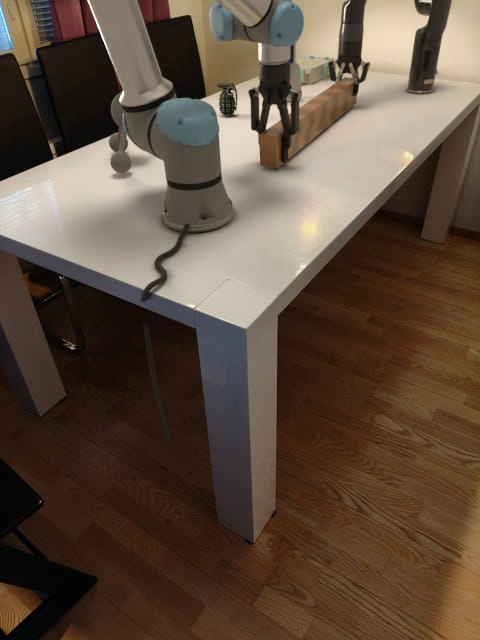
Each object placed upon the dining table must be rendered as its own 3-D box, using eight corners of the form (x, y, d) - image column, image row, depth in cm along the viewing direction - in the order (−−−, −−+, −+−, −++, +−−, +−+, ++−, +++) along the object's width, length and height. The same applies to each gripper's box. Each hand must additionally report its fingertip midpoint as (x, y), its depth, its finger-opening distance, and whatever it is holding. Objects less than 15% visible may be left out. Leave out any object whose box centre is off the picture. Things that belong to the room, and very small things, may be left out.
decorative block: (301, 54, 217) (342, 57, 208) (301, 70, 221) (341, 73, 212) (270, 65, 201) (313, 69, 192) (270, 82, 205) (312, 86, 196)
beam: (277, 168, 126) (277, 136, 121) (259, 166, 128) (259, 134, 123) (356, 103, 171) (358, 78, 166) (342, 102, 173) (344, 77, 168)
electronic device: (270, 104, 178) (269, 7, 160) (263, 99, 184) (262, 5, 165) (301, 100, 180) (304, 4, 162) (294, 95, 186) (296, 2, 168)
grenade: (217, 117, 168) (214, 86, 162) (221, 112, 172) (219, 82, 166) (235, 117, 166) (233, 86, 160) (239, 113, 171) (238, 82, 165)
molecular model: (195, 164, 133) (181, 39, 115) (114, 179, 127) (87, 50, 109) (172, 140, 150) (157, 28, 132) (101, 152, 145) (75, 37, 126)
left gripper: (316, 60, 114) (312, 158, 128) (247, 57, 121) (251, 150, 135) (304, 66, 109) (301, 168, 123) (233, 63, 116) (238, 159, 130)
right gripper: (376, 37, 156) (370, 93, 167) (333, 36, 162) (330, 91, 172) (369, 41, 151) (363, 99, 161) (325, 39, 157) (322, 96, 167)
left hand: (274, 159), depth 129 cm, fingers closed on beam, 5 cm apart
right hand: (346, 94), depth 167 cm, fingers closed on beam, 5 cm apart
